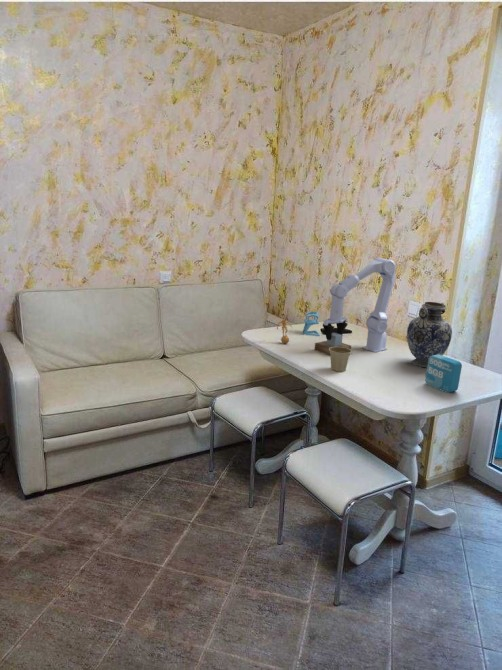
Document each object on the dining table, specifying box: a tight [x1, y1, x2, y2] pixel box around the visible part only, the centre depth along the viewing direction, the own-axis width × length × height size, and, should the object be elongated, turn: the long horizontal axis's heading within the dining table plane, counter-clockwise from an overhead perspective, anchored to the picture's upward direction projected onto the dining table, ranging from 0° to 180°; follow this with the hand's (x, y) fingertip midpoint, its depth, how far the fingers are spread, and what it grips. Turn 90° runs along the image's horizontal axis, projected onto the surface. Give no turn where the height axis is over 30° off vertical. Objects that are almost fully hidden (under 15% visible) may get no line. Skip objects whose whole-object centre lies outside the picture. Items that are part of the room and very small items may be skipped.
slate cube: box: [326, 332, 343, 347], centre depth 226 cm, size 5×5×5 cm
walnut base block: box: [314, 340, 352, 356], centre depth 227 cm, size 12×12×4 cm
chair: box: [301, 311, 320, 337], centre depth 256 cm, size 8×8×12 cm
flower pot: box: [329, 347, 353, 372], centre depth 201 cm, size 9×9×9 cm
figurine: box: [276, 318, 293, 344], centre depth 236 cm, size 8×6×12 cm
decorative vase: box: [406, 301, 453, 369], centre depth 212 cm, size 21×19×28 cm
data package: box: [425, 355, 463, 393], centre depth 186 cm, size 12×4×12 cm, turn 30°
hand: (333, 338), depth 226 cm, fingers open, 7 cm apart
